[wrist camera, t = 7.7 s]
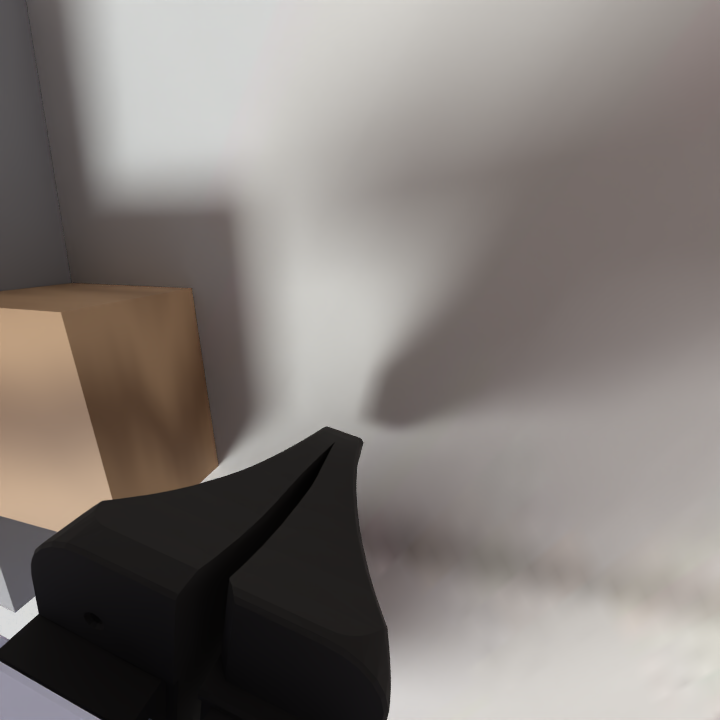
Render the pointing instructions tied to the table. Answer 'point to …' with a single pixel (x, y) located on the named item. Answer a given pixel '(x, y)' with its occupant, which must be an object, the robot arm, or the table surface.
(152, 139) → the table surface
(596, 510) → the table surface
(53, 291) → the tan block
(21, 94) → the gray rectangular bar
